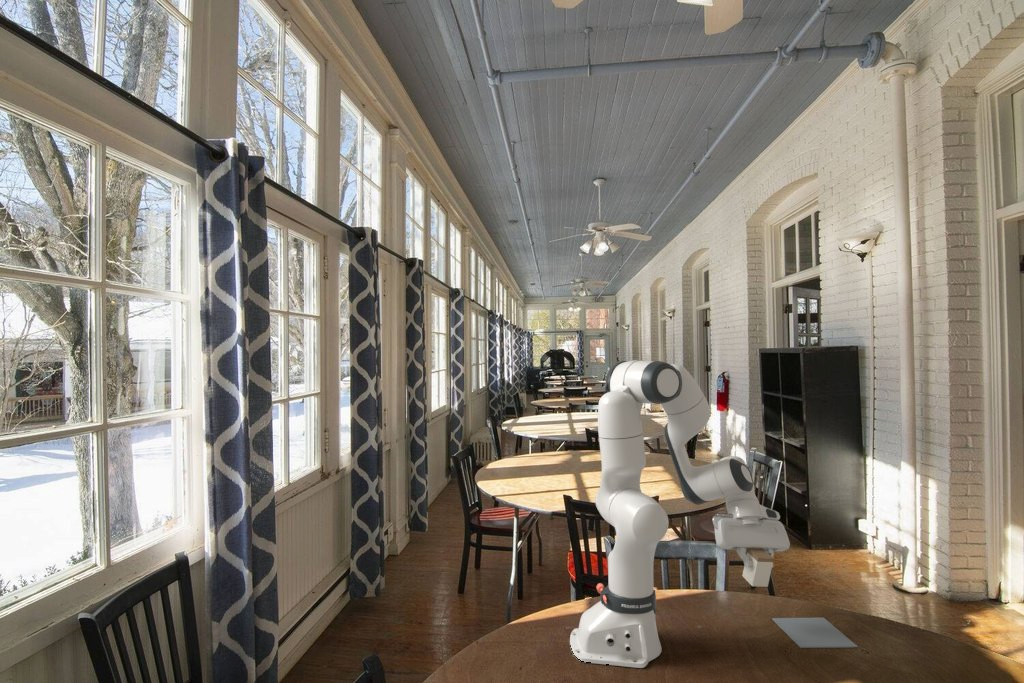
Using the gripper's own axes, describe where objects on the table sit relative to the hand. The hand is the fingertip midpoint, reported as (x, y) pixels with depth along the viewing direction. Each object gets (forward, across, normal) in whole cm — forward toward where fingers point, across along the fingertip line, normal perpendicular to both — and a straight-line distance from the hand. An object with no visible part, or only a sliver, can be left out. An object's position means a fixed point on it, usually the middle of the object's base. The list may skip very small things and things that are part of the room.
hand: (759, 567), depth 137 cm
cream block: (+3, 0, +4) cm, 4 cm away
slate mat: (+14, +14, +5) cm, 20 cm away
